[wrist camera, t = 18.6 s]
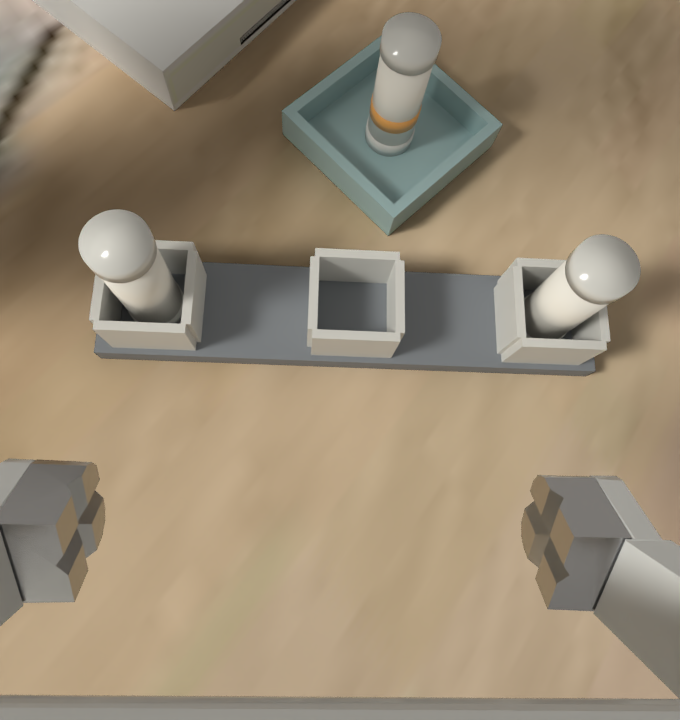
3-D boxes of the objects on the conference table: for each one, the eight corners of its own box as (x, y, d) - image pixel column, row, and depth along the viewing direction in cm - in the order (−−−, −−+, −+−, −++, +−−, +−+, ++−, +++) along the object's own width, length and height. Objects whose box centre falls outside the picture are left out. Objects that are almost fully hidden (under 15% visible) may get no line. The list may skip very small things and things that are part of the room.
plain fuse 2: (501, 320, 42) (560, 263, 32) (535, 287, 43) (602, 221, 33) (540, 358, 42) (612, 310, 32) (573, 324, 42) (654, 267, 33)
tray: (282, 134, 47) (281, 110, 44) (388, 53, 49) (393, 26, 47) (388, 235, 45) (393, 217, 42) (491, 146, 48) (502, 124, 45)
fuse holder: (585, 376, 43) (625, 356, 38) (101, 358, 41) (71, 334, 36) (577, 287, 45) (614, 257, 40) (113, 266, 43) (86, 231, 38)
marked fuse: (355, 133, 46) (369, 33, 37) (388, 107, 47) (411, 2, 38) (388, 165, 46) (412, 72, 36) (421, 137, 47) (453, 39, 37)
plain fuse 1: (119, 304, 41) (63, 238, 31) (162, 270, 41) (121, 196, 32) (155, 343, 40) (108, 288, 30) (198, 308, 41) (166, 244, 31)
